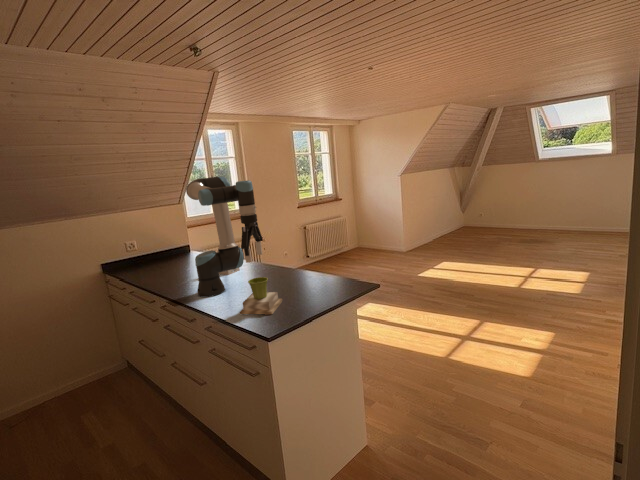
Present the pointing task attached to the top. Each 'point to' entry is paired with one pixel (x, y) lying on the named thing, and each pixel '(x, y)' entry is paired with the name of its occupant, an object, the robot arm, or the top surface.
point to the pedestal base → (261, 304)
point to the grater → (229, 271)
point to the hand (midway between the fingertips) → (254, 258)
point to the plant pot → (259, 287)
